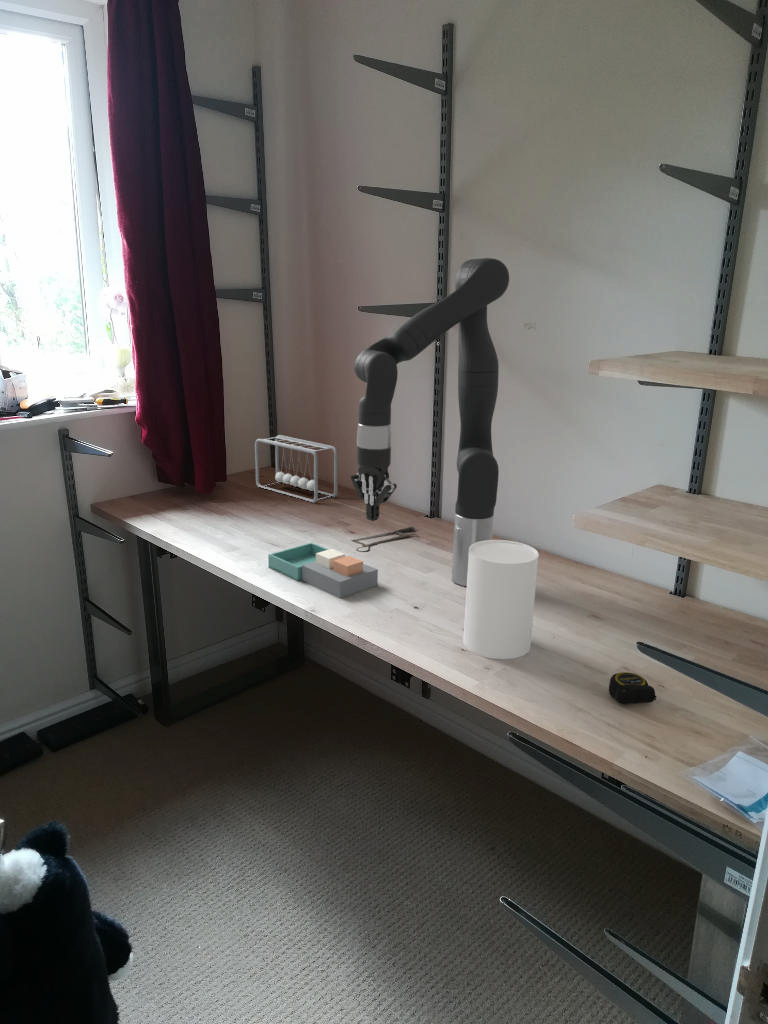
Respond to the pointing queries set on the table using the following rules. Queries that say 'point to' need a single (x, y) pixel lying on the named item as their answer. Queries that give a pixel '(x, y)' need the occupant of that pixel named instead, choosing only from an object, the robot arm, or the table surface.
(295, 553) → the box
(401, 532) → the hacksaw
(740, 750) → the table surface
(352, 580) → the grey flat block
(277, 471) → the newton's cradle
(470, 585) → the canister
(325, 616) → the table surface
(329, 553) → the cream tile
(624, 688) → the tape measure
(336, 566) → the terracotta tile
